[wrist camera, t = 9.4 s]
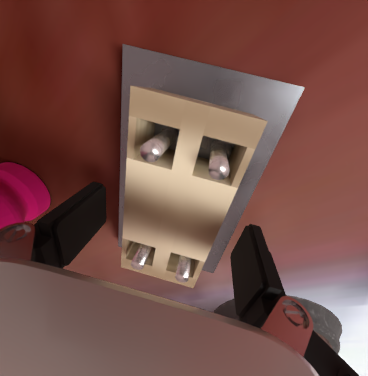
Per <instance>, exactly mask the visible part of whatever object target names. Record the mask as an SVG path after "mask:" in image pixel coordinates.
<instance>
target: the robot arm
mask: <svg viewBox="0 0 368 376" xmlns="http://www.w3.org/2000/svg"><path fill="white" fill-rule="evenodd" d="M105 222H106V188H105V187H104V186H103V184H101V183H97V182H92V183H90V184H89V185H87V186H86V187H85V188H83V189H82V190H80V191H79V192H78V193H76V194H75V195H73V196H72V197H70V198H69V199H68V200H66V201H65V202H63V203H62V204H61V205H59V206H58V207H56V208H55V209H53V210H52V211H51V212H49V213H48V214H46V215H45V216H43V217H42V218H41V219H39V220H38V221H37V223H36V224H35V225H33V224H30V223H26V222H21V223H14V224H10V225H8V226H5V227H3V228H2V229H0V376H359V375H358V374H357V373H356V372H355V371H354V370H353V369H352V368H351V367H350V366H349V365H348V364H347V363H346V362H345V361H344V360H343V359H342V358H341V357H340V356H339V355H338V354H337V353H336V352H335V351H334V350H333V349H332V348H331V347H330V346H329V345H328V344H327V343H326V342H325V341H324V340H323V339H322V338H321V337H320V336H319V335H318V334H317V333H316V332H315V331H314V330H313V321H312V318H311V316H310V314H309V313H308V311H307V310H306V308H305V307H304V306H303V305H302V304H301V303H299V302H298V301H297V300H295V299H293V298H291V297H288V296H286V294H285V292H284V289H283V286H282V283H281V280H280V278H279V275H278V272H277V269H276V266H275V264H274V261H273V258H272V255H271V253H270V252H269V251H268V248H267V245H266V242H265V239H264V236H263V233H262V230H261V228H260V227H259V226H256V225H252V224H250V225H249V226H246V227H245V229H244V230H243V232H242V234H241V236H240V238H239V240H238V242H237V244H236V246H235V247H234V249H233V251H232V253H231V268H232V278H233V289H234V299H235V309H236V315H237V316H239V321H238V320H235V319H232V318H229V317H225V316H222V315H219V314H216V313H213V312H209V311H206V310H203V309H199V308H196V307H193V306H189V305H186V304H183V303H179V302H176V301H172V300H169V299H166V298H162V297H159V296H155V295H152V294H149V293H145V292H142V291H138V290H135V289H131V288H128V287H125V286H121V285H118V284H114V283H111V282H107V281H104V280H100V279H97V278H93V277H90V276H86V275H83V274H79V273H76V272H72V271H69V270H65V269H62V268H63V267H64V266H67V265H69V264H70V263H71V261H72V260H73V259H74V258H75V257H76V256H77V255H78V253H79V252H80V251H81V250H82V249H83V248H84V246H85V245H86V244H87V243H88V242H89V241H90V239H91V238H92V237H93V236H94V235H95V234H96V233H97V231H98V230H99V229H100V228H101V227H102V226H103V224H104V223H105Z"/></svg>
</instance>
